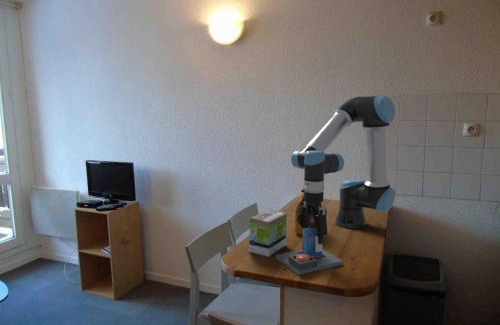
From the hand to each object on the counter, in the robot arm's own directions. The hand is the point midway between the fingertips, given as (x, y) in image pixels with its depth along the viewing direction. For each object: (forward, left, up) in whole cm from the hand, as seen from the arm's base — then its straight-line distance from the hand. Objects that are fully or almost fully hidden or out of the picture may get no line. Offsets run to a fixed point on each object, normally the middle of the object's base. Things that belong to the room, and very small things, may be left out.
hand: (312, 247), depth 137 cm
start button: (+8, +6, -2) cm, 11 cm away
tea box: (+11, -16, -5) cm, 20 cm away
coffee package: (-15, -27, -5) cm, 31 cm away
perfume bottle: (0, 0, -2) cm, 2 cm away
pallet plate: (+3, +2, -4) cm, 6 cm away
